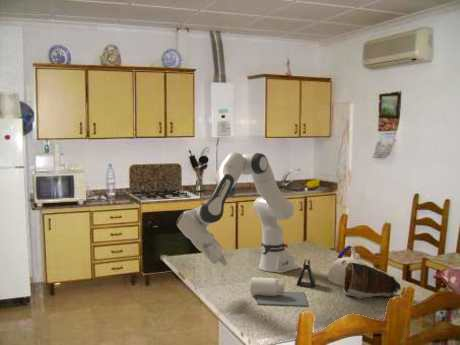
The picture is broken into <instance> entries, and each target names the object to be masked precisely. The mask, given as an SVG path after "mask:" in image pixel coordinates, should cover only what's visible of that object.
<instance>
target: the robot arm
mask: <svg viewBox="0 0 460 345" xmlns="http://www.w3.org/2000/svg"><path fill="white" fill-rule="evenodd" d="M242 175H246V176H250V175H251V176H252V181H253V183H254V186H255V189H256V192H257V194H258V196H260V197H257V198H256V199H255V200H254V202H253V206H252V207H253V211H254V212H255V214H256V215H257V217H258V219H259V222H260V225H261V233H262V234H261V235H262V236H261V237H262V238H261V246H260V250H261V253H260V254H261V255H260V256H261V257H260V261H259V265H258V269H259V270H261V271H264V272H269V273H272V272H273V273H279V274H280V273H285V272H289V271H293V270H297V269H299V268H300V267H299V265H298V264H296V262H295V257H294V256H293V255H292V254H291V253H290V252H288V251H287V250H286V249H287V248H289V244H287V243H284V242H283V227H281V225H280V224H279V222H278V220H279V221H288V220H290V219H292V217H293V216H294V213H295V207H294V204H293V203H292V202H291V201H290V200H288V199H287V198H286V197H285V196H284V194H283V193H282V192H281V190H280V188H279V187H278V185H277V181H276V179H275V176H274V172H273V169H272V167H271V164H270V163H269V159H268V158H267V156H266V155H265V154H263V153H259V152H256V153H255V152H244V153H243V152H242V153H239V152H237V151H236V152H235V151H232V152H230V153H229V154H227V156H226V157H225V158H224V159H223V160H222V162H221V164H220V165H219V166H218V169H217V171H216V172H215V175H214V182H215V183H216V185H217V186H216V187H215V190H214V192H213V194H211V195H212V196H211V197H210V198H208V199H207V200H205V202H203V203H202V204H200V206H199V207H196V208H193V209H190V210H184V211H182V212H181V214H180V215H179V216H178V218H177V220H176V226H177V228H178V229H179V230H180V232H182V234H183V235H184V237H186V238H188V239H189V240H190V241H191V243H192V245H194V246H195V248H196V249H197V250H199V251H200V252H203V254H204V255H205V256H206V258H207V259H208V260H209V261H210V263H212V264H213V265H216V264H217V263H218V262H219V263H220V264H222V265H223V266H227V264H228V260H227V259H226V258H225V256H224V255H223V254H222V252H223V247H222V245H221V244H220V243H219V241H217V239H216V238H215V235H214V234H213V233H212V232H209V230H208V229H207V227H209V226H211V225H213V224H215V223H216V222H219V221H220V220H221V219H222V217H223V215H224V212H225V211H224V207H225V203H226V201H227V198H228V196H229V195H230V192H231V190H232V189H233V187H235V185H236V184H237V182H238V181H239V179H240V177H241V176H242Z"/></svg>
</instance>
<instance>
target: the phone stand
mask: <svg viewBox="0 0 460 345" xmlns="http://www.w3.org/2000/svg"><path fill="white" fill-rule="evenodd" d="M306 270H307V273H308V277H309V281H302V280H303V277H304V274H305V271H306ZM296 281H297V282H296V286H297V287H307V288H315V287H316V284H317V283H316V279H315V276H314V273H313V271H312V268H311V261H310V259H308V260H307V259H304V261H303V266H302V270H301V272H300V274H299V276H298V279H297V280H296Z"/></svg>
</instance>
